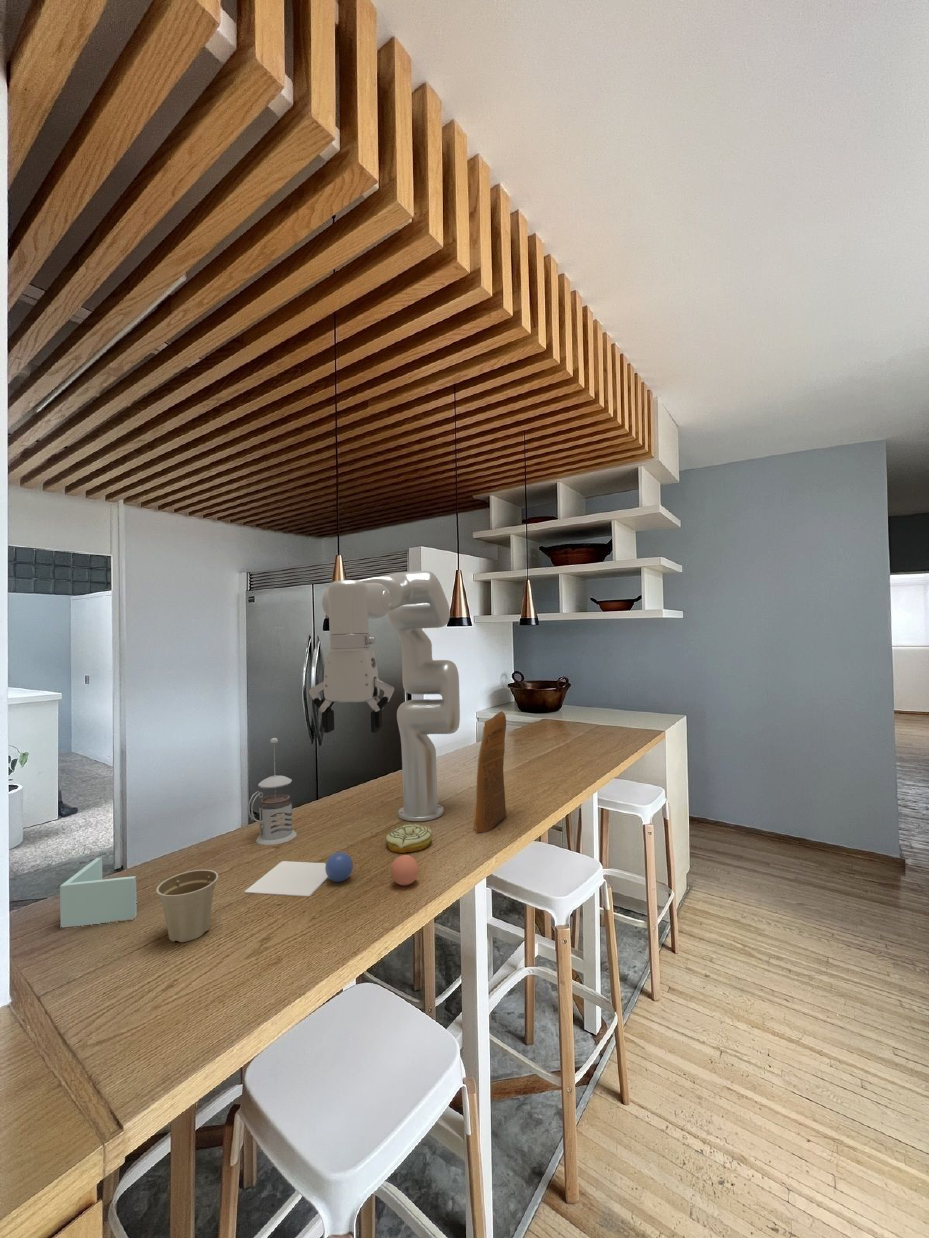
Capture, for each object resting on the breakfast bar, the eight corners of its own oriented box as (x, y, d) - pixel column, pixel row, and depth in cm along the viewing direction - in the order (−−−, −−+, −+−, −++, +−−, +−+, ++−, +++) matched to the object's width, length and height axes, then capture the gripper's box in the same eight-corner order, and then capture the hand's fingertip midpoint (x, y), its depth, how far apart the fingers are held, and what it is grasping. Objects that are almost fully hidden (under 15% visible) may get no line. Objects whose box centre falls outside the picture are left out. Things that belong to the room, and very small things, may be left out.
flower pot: (176, 955, 82) (175, 900, 83) (146, 939, 87) (145, 887, 88) (230, 926, 90) (229, 876, 91) (199, 913, 95) (198, 865, 96)
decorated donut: (378, 846, 124) (377, 830, 124) (416, 833, 130) (415, 818, 131) (401, 859, 116) (400, 842, 116) (440, 845, 122) (439, 829, 122)
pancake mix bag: (518, 812, 142) (513, 710, 143) (490, 837, 125) (485, 721, 126) (495, 809, 145) (491, 709, 146) (465, 834, 128) (460, 720, 129)
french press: (304, 835, 132) (301, 736, 133) (260, 850, 123) (257, 744, 124) (285, 826, 138) (282, 732, 139) (241, 840, 130) (239, 740, 131)
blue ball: (333, 873, 109) (332, 847, 109) (357, 874, 108) (356, 848, 108) (320, 886, 104) (320, 858, 104) (346, 887, 103) (345, 859, 103)
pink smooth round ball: (396, 876, 107) (395, 849, 107) (422, 878, 106) (421, 850, 106) (387, 889, 101) (386, 861, 101) (414, 891, 100) (413, 862, 100)
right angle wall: (134, 920, 94) (133, 878, 94) (60, 928, 92) (60, 885, 92) (161, 888, 106) (161, 851, 106) (97, 895, 104) (96, 857, 104)
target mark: (282, 861, 116) (281, 861, 116) (340, 864, 114) (340, 863, 114) (244, 892, 102) (244, 891, 102) (309, 896, 100) (309, 895, 100)
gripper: (397, 641, 104) (400, 727, 103) (317, 644, 107) (320, 728, 106) (385, 642, 96) (388, 735, 96) (299, 645, 100) (302, 735, 99)
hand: (352, 731), depth 101 cm, fingers open, 9 cm apart
